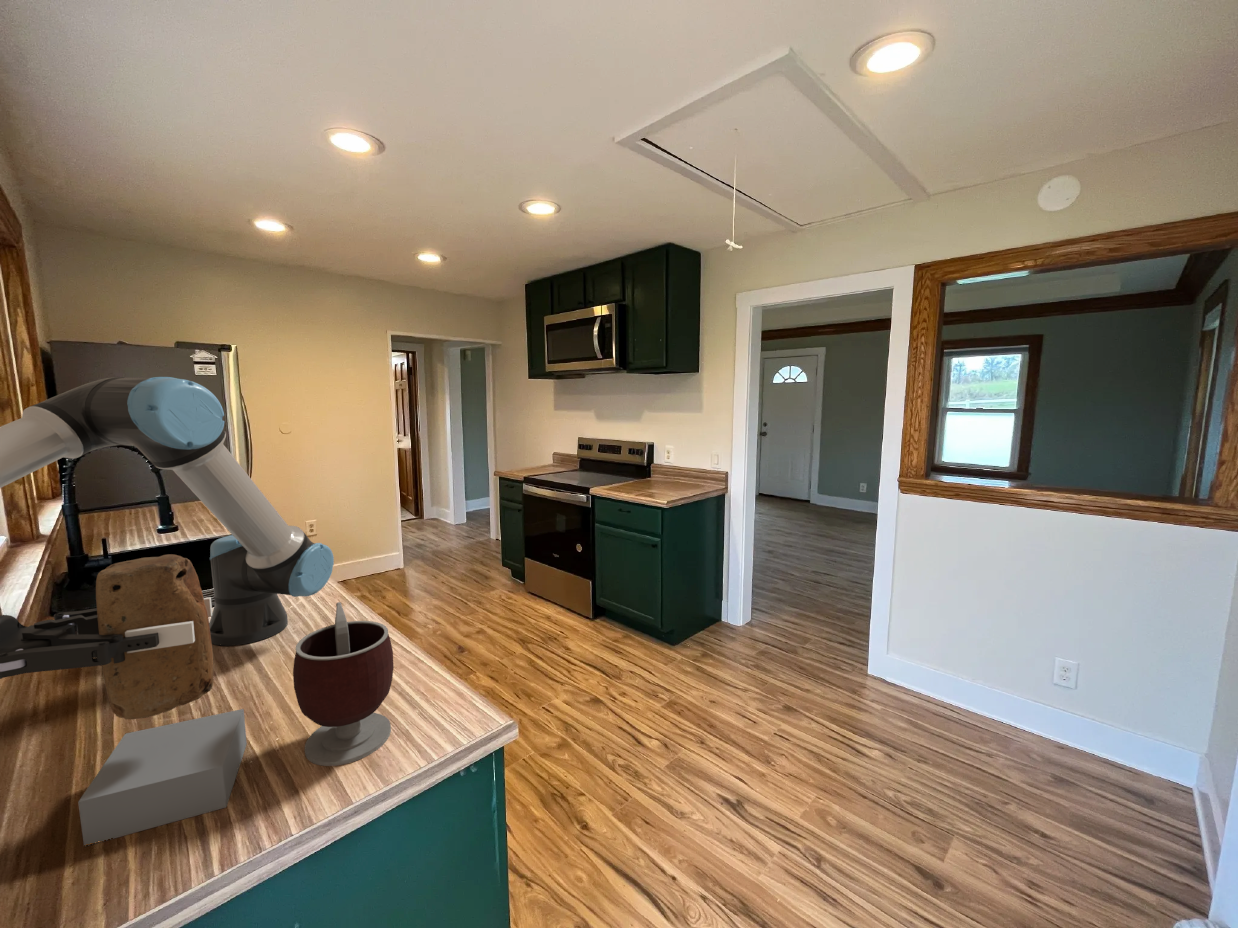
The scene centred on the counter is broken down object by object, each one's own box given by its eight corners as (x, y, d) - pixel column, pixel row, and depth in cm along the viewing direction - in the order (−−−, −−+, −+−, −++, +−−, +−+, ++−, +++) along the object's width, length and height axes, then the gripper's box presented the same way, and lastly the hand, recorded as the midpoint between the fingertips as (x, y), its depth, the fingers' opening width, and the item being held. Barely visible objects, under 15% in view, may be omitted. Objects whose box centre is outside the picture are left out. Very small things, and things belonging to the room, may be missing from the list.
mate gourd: (403, 748, 81) (398, 627, 78) (299, 782, 73) (289, 650, 71) (387, 699, 94) (383, 594, 91) (298, 724, 86) (290, 610, 84)
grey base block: (129, 771, 75) (125, 733, 74) (246, 743, 81) (243, 708, 80) (84, 846, 62) (78, 801, 62) (226, 807, 69) (222, 765, 68)
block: (105, 731, 64) (87, 575, 61) (114, 702, 70) (98, 559, 67) (216, 700, 70) (203, 559, 68) (215, 677, 76) (204, 546, 74)
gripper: (17, 644, 70) (222, 615, 81) (-106, 733, 52) (181, 681, 62) (10, 591, 70) (219, 569, 80) (-118, 663, 51) (175, 622, 61)
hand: (202, 618), depth 71 cm, fingers closed on block, 8 cm apart
